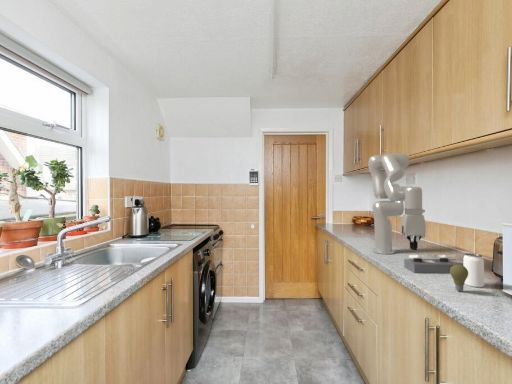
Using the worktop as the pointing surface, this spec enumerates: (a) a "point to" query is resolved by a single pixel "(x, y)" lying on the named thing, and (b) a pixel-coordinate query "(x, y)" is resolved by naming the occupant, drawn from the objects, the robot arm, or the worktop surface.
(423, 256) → the rocker
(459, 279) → the light bulb
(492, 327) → the worktop surface
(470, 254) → the can
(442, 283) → the worktop surface
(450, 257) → the rocker
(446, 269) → the switch panel
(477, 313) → the worktop surface
